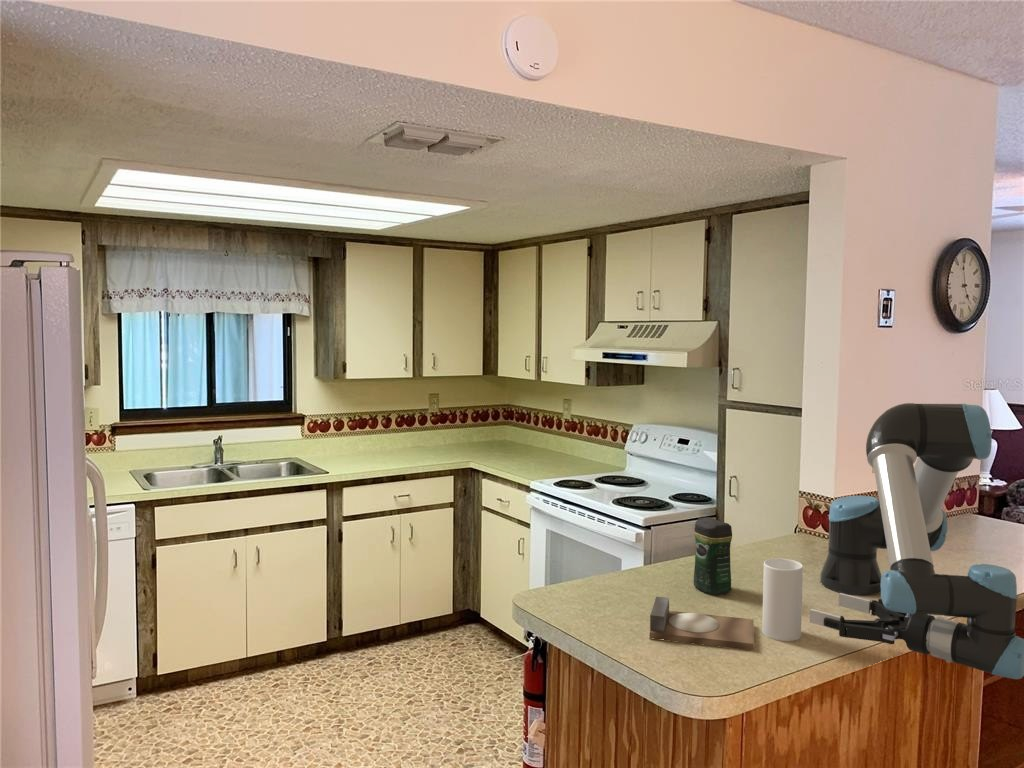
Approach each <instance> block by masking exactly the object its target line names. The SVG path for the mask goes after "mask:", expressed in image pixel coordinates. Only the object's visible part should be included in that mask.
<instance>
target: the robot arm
mask: <svg viewBox="0 0 1024 768" xmlns="http://www.w3.org/2000/svg"><path fill="white" fill-rule="evenodd" d="M992 440H993V439H992V429H991V423H990V419H989V415H988V413H987V411H986V410H985V408H983V407H982V406H981V405H978V404H967V403H914V402H906V403H900V404H897V405H894V406H892V407H890V408H889V409H886V410H885V411H884V412H883V413H882V414H881V415H879V417H877V419H876V420H875V421H874V423H873V424H872V426H871V427H870V430H869V432H868V434H867V438H866V444H865V454H866V459H867V460H866V461H867V463H868V464H869V466H870V467H871V468H873V470H874V477H875V483H876V490H877V495H878V498H877V497H874V496H870V495H867V496H866V495H848V496H842V497H838V498H836V499H835V500H833V501H832V502H831V503H830V505H829V515H828V521H829V523H828V553H827V556H826V559H825V561H824V564H823V566H822V569H821V571H820V583H822V584H821V585H822V586H823V585H824V586H823V587H825V588H827V589H829V590H832V591H835V592H838V606H839V607H841V608H846V609H850V610H854V611H857V612H861V613H865V614H869V615H871V616H874V617H875V616H876V617H878V618H875V619H874V620H867V619H866V620H864V619H863V620H862V619H845V617H844V616H843V615H836V614H832V613H830V612H825V611H822V610H818V609H814V608H810V610H809V623H810V624H814V625H818V626H822V627H825V628H827V629H832V630H834V631H838V632H839V633H838V636H839V637H840V638H848V639H856V640H864V641H872V642H880V643H885V644H887V645H895V640H902V641H904V642H905V645H906V647H907V648H908V650H909V651H912V652H916V653H919V654H924V655H926V656H927V655H931V656H932V657H933V658H938V659H941V660H944V661H945V662H946V663H948V664H951V663H955V664H959V665H962V666H966V667H969V668H972V669H976V670H979V671H983V672H984V673H989V674H991V675H993V676H998V677H1002V678H1006V679H1012V680H1021V679H1022V678H1023V677H1024V638H1023V637H1020V636H1018V635H1016V630H1015V629H1016V627H1015V626H1016V611H1017V599H1018V595H1017V593H1018V589H1017V588H1018V586H1017V577H1016V574H1015V573H1014V572H1013V571H1012V570H1010V569H1009V568H1006V567H1003V566H1000V565H997V564H987V563H981V564H977V563H976V564H972V565H971V566H970V567H969V569H968V573H967V575H960V574H959V575H958V574H957V575H956V574H954V575H953V574H942V573H935V567H934V566H935V565H934V561H933V556H932V552H936V551H938V550H940V549H941V548H943V545H944V544H945V542H946V540H947V535H946V534H948V519H947V514H946V512H945V511H944V509H943V508H942V507H943V504H944V503H945V501H946V498H947V497H948V494H949V493H950V490H951V489H952V487H953V485H954V481H955V480H956V478H957V475H958V474H959V472H962V471H964V470H966V469H968V468H969V466H970V465H971V464H972V462H973V461H974V460H978V461H980V460H986V459H988V458H989V457H990V455H991V451H992V444H993V442H992ZM914 464H915V465H914ZM878 549H882V550H886V551H887V556H888V562H889V567H890V570H885V571H883V573H881V569H880V567H879V566H880V565H879V563H878V560H877V557H878V556H877V552H878ZM875 594H880V598H877V599H878V600H875V599H872V600H870V599H866V598H862V597H857V596H870V595H871V596H872V595H875ZM853 595H857V596H853ZM870 613H871V614H870ZM935 616H938V617H935ZM940 616H941V617H940ZM942 616H945V617H953V618H954V617H955V618H964V619H965V618H966V623H963V622H960V621H957V620H953V619H948V618H944V617H942Z"/></svg>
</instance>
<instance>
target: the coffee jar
mask: <svg viewBox="0 0 1024 768" xmlns="http://www.w3.org/2000/svg"><path fill="white" fill-rule="evenodd" d="M693 532H694V540H695V555H694V570H693V585H694V587H695V588H696V589H698V590H700V591H701V592H704V593H706V594H709V595H725V594H727V593H729V592H731V591H732V572H731V567H732V566H731V544H732V543H731V542H732V539H733V530H732V525H731V524H730V523H728V522H724V521H721V520H718V519H716V518H712V517H709V516H707V517H700V518H698V519H696V521H695V524H694V531H693Z"/></svg>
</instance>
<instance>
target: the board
mask: <svg viewBox="0 0 1024 768" xmlns="http://www.w3.org/2000/svg"><path fill="white" fill-rule="evenodd" d="M649 621H650V623H649V624H650V625H649V639H650V638H654V639H653V640H655V639H664V640H670V641H669V642H672V641H678V642H677V643H681V642H685V643H684V644H690V643H694V644H693V645H699V644H704V645H703V646H708V645H709V647H717V646H720V647H719V648H726V647H727V648H728V649H738V650H744V651H745V650H746V651H752V650H753V651H755V631H754V630H755V629H754V626H755V625H754V618H746V617H745V618H743V617H737V616H736V617H735V616H727V615H726V616H724V615H716V614H715V615H713V614H704V613H694V612H684V611H677V610H674V611H673V610H670V598H669V597H664V596H655V599H654V603H653V606H652V608H651V612H650V615H649ZM664 640H663V641H664ZM727 648H726V649H727Z"/></svg>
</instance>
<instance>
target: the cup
mask: <svg viewBox="0 0 1024 768" xmlns="http://www.w3.org/2000/svg"><path fill="white" fill-rule="evenodd" d="M803 573H804V566H803V564H802V563H801V562H799V561H797V560H793V559H789V558H779V557H778V558H777V557H776V558H775V557H774V558H768V559H765V560H764V562H763V581H762V584H763V585H762V623H761V625H762V626H761V632H762V634H763V635H764V636H765V637H767V638H769V639H772V640H775V641H779V642H780V641H781V642H795V641H797V640H800V639H801V637H802V619H803V618H802V615H803V613H802V612H803V577H804V575H803Z"/></svg>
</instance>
